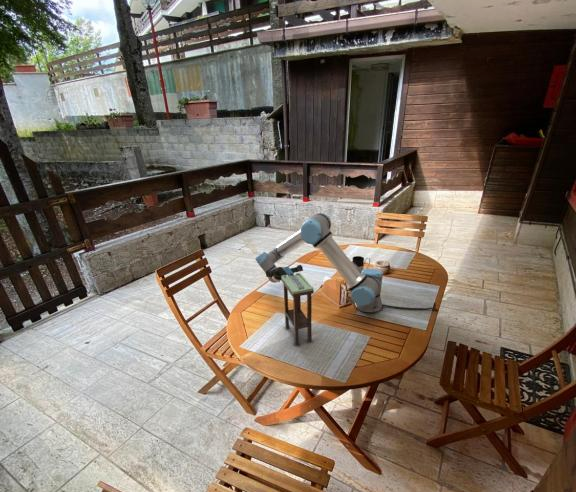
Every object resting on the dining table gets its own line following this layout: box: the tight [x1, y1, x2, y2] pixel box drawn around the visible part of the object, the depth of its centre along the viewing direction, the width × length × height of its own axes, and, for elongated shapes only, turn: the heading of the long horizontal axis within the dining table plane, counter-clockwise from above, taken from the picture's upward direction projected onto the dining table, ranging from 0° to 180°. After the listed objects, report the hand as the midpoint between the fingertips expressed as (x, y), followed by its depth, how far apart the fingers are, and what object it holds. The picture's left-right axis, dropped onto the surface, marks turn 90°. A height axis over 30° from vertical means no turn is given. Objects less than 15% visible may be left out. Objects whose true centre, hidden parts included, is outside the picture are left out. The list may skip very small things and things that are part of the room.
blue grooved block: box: [282, 266, 304, 290], centre depth 153 cm, size 24×3×1 cm, turn 18°
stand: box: [280, 278, 315, 346], centre depth 156 cm, size 18×10×30 cm, turn 18°
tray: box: [281, 272, 314, 294], centre depth 148 cm, size 18×10×1 cm, turn 18°
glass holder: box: [351, 255, 371, 273], centre depth 214 cm, size 9×14×15 cm, turn 113°
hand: (288, 269), depth 158 cm, fingers open, 13 cm apart
